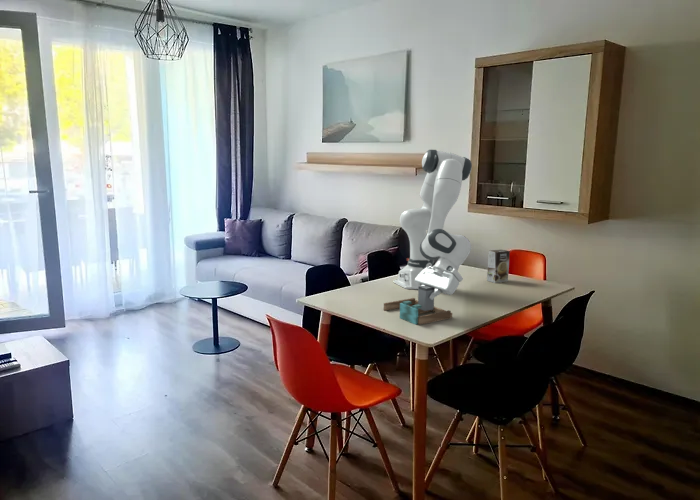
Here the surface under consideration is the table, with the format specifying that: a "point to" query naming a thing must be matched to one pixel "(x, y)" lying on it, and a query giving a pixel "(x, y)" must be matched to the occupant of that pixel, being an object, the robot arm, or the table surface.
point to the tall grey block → (425, 297)
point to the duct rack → (417, 311)
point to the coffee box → (498, 266)
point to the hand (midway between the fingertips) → (424, 297)
